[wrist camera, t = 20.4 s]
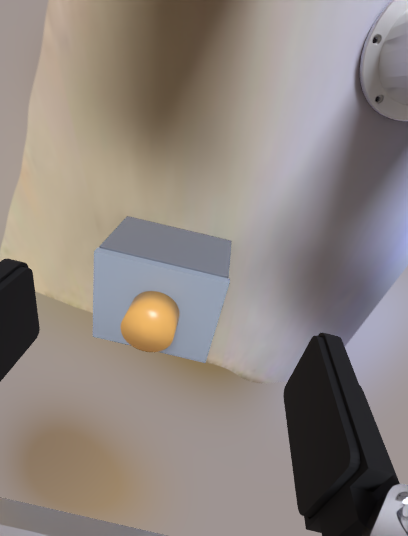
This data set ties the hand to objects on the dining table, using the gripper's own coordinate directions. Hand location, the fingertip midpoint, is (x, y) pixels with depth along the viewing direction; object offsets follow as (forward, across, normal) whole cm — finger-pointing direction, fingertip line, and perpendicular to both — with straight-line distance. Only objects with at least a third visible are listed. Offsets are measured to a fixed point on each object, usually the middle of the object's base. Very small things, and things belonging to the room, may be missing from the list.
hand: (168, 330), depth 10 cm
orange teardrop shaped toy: (+22, +4, +19) cm, 29 cm away
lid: (+23, +4, +19) cm, 30 cm away
